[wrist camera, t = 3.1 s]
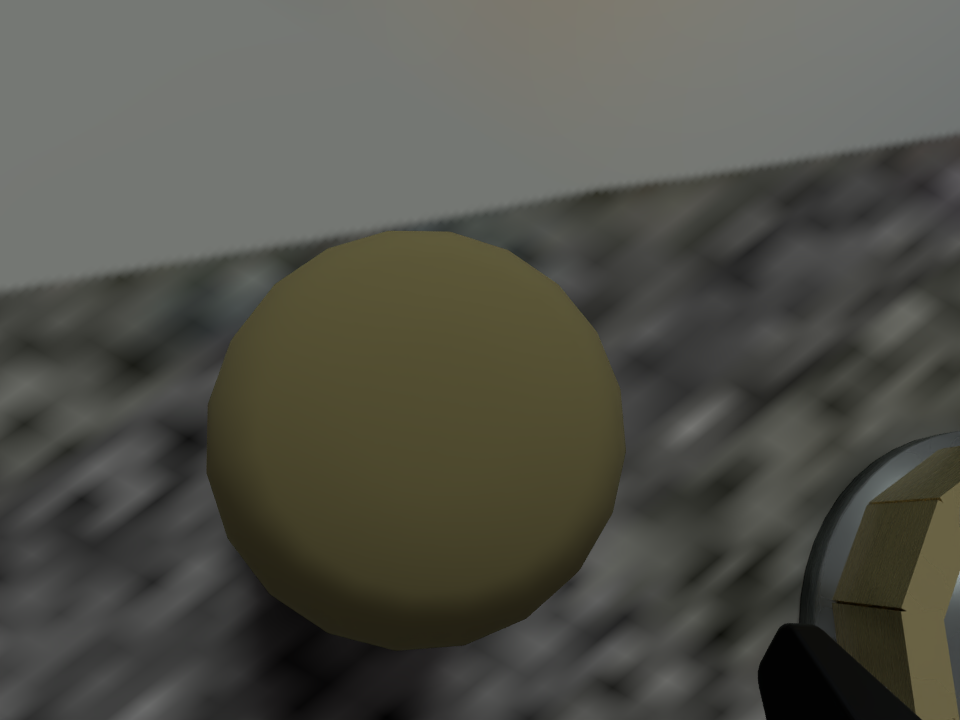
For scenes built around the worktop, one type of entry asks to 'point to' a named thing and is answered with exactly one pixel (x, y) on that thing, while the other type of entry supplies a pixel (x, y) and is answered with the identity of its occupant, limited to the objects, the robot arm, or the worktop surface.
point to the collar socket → (896, 574)
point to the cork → (415, 440)
